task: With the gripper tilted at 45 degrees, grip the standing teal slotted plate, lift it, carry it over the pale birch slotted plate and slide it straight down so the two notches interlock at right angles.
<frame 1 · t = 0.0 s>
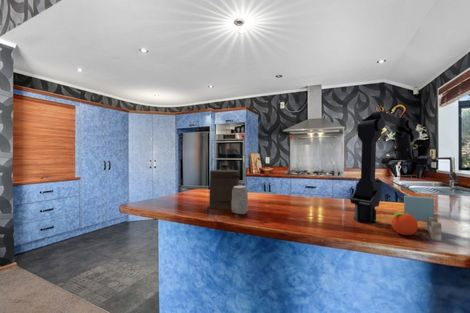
hand: (407, 177, 107), 15 cm above the countertop, tool pointing down, fingers open, 9 cm apart
clementine: (402, 235, 73), on the countertop
teal slotted plate: (418, 228, 80), on the countertop
wooden container: (224, 206, 115), on the countertop
carving: (239, 214, 100), on the countertop
birch slotted plate: (434, 236, 72), on the countertop
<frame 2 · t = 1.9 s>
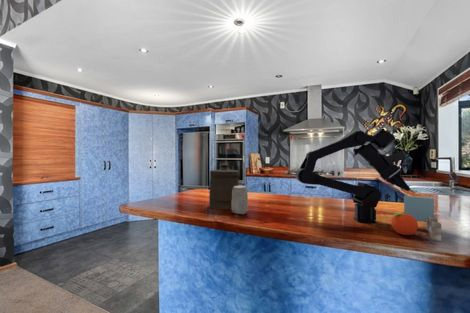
hand: (407, 188, 83), 14 cm above the countertop, tool tilted 45°, fingers open, 9 cm apart
nothing on the countertop moved.
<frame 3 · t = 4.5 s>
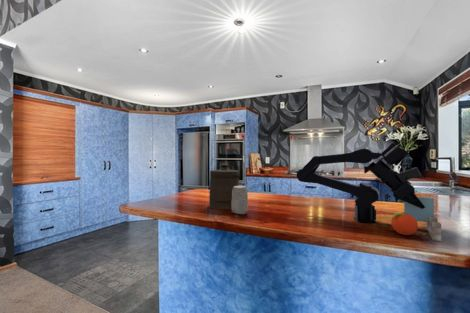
hand: (423, 207, 79), 8 cm above the countertop, tool tilted 45°, fingers closed on teal slotted plate, 2 cm apart
teal slotted plate: (418, 228, 80), on the countertop, touching gripper
everything else where it was.
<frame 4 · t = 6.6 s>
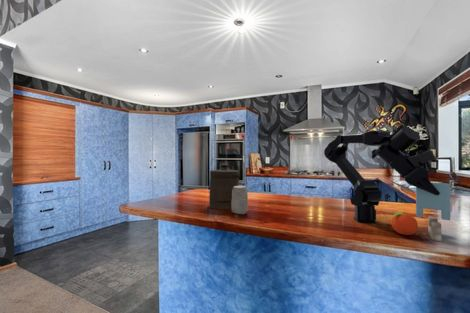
hand: (438, 194, 72), 13 cm above the countertop, tool tilted 45°, fingers closed on teal slotted plate, 2 cm apart
teal slotted plate: (432, 217, 73), point 6 cm above the countertop, touching gripper
everything else where it was.
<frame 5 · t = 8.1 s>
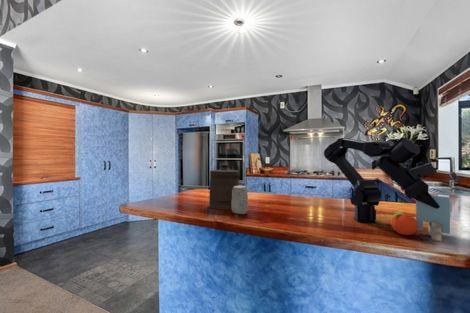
hand: (437, 207, 72), 9 cm above the countertop, tool tilted 45°, fingers closed on teal slotted plate, 2 cm apart
teal slotted plate: (432, 230, 73), point 2 cm above the countertop, touching gripper
everything else where it was.
when the fingers open (8 cm above the countertop, at t = 8.8 s): teal slotted plate stays where it is, on the countertop.
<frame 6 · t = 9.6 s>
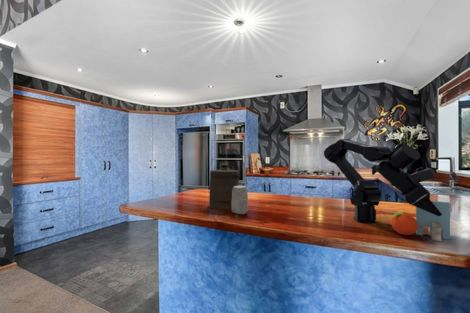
hand: (438, 212, 72), 8 cm above the countertop, tool tilted 45°, fingers open, 9 cm apart
teal slotted plate: (432, 235, 73), on the countertop
everything else where it was.
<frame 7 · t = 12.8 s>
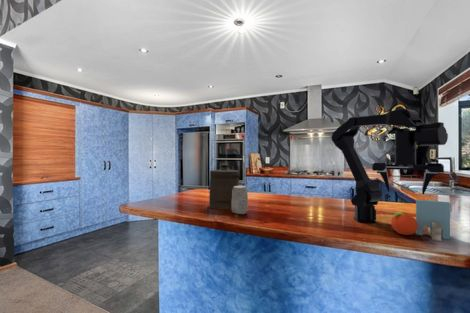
hand: (405, 192, 77), 13 cm above the countertop, tool pointing down, fingers open, 9 cm apart
nothing on the countertop moved.
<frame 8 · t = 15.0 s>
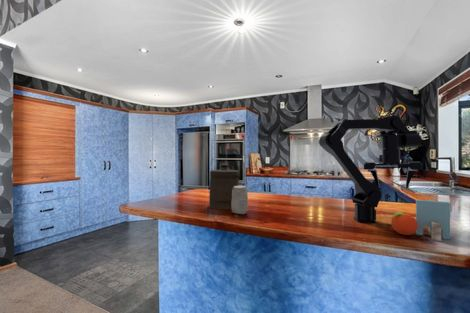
hand: (392, 187, 90), 13 cm above the countertop, tool pointing down, fingers open, 9 cm apart
nothing on the countertop moved.
at the end: teal slotted plate 0.6 cm off-centre on the birch slotted plate, point 0.0 cm above the birch slotted plate's base; teal slotted plate tilted 0°; the gripper is holding nothing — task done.
